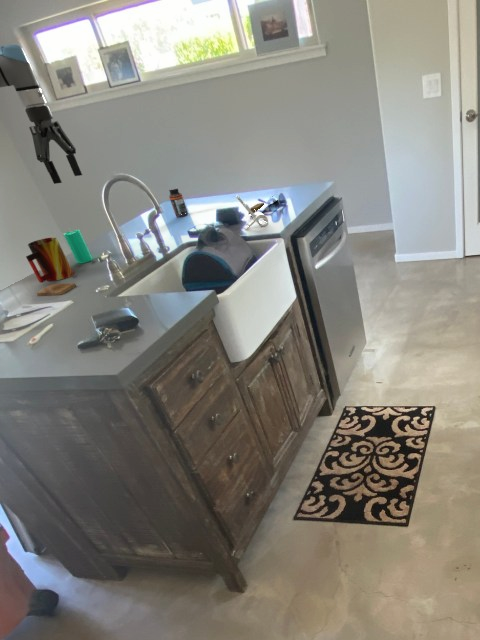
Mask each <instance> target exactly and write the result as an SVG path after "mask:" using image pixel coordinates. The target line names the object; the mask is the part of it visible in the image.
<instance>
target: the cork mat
mask: <svg viewBox="0 0 480 640" xmlns="http://www.w3.org/2000/svg"><path fill="white" fill-rule="evenodd" d="M76 287H77V284H76V283H75V282H73V283H72V282H71V283H54V284H50V285H48V286H46V287H44V288H43V289H40V290H39V291H37V292H36V296H37V297H43V296H62V295H65V294H66V293H67V292H69V291H71V290H73V289H74V288H76Z"/></svg>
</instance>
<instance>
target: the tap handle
mask: <svg viewBox="0 0 480 640" xmlns="http://www.w3.org/2000/svg"><path fill="white" fill-rule="evenodd" d="M273 196H274V195H272V196H271V197H273ZM263 205H264V202H261V203H260V202H259V203H256V204H254V205H253V206H251V207H250V208H249V209H250V210H251V211H252V212H253V213H255V210H256V211H257V210H258V209H260V208H261V207H262V206H263ZM254 209H255V210H254ZM249 214H250V213H249V212H248V215H249ZM250 217H251V218H253V217H252V216H250Z"/></svg>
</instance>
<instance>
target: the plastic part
mask: <svg viewBox="0 0 480 640" xmlns="http://www.w3.org/2000/svg"><path fill="white" fill-rule="evenodd" d="M235 198H236V199H237V200H238V202H239V203H240V204H241V205H242V206H243V207H244V208H245V210H246V211H247V212H248V214H249V213H250V214H251V215H252V217H251V218H252V220H251V221H249V222H248V223H245V227H244V230H246V231H248V230H249V229H250V228H251V227H252V226H253V225H254V224H255V223H257V224H258V225H259V226H261V227H263V228H264V227H267V226H268V225H269V219H268V217H267V216H266V215H265V214H264V212H263V213H262V212H260V211H257V212H255V213H253V212H252V211H251V210H250V208H249V206H248V205H246V203H244V201H243V200H242V198H240V195H238V194H236V195H235ZM260 219H262V220H260ZM263 220H264V221H266V222H268V223H266V222H264V221H263ZM259 222H260V223H259ZM247 225H248V226H249V227H248V226H247Z"/></svg>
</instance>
